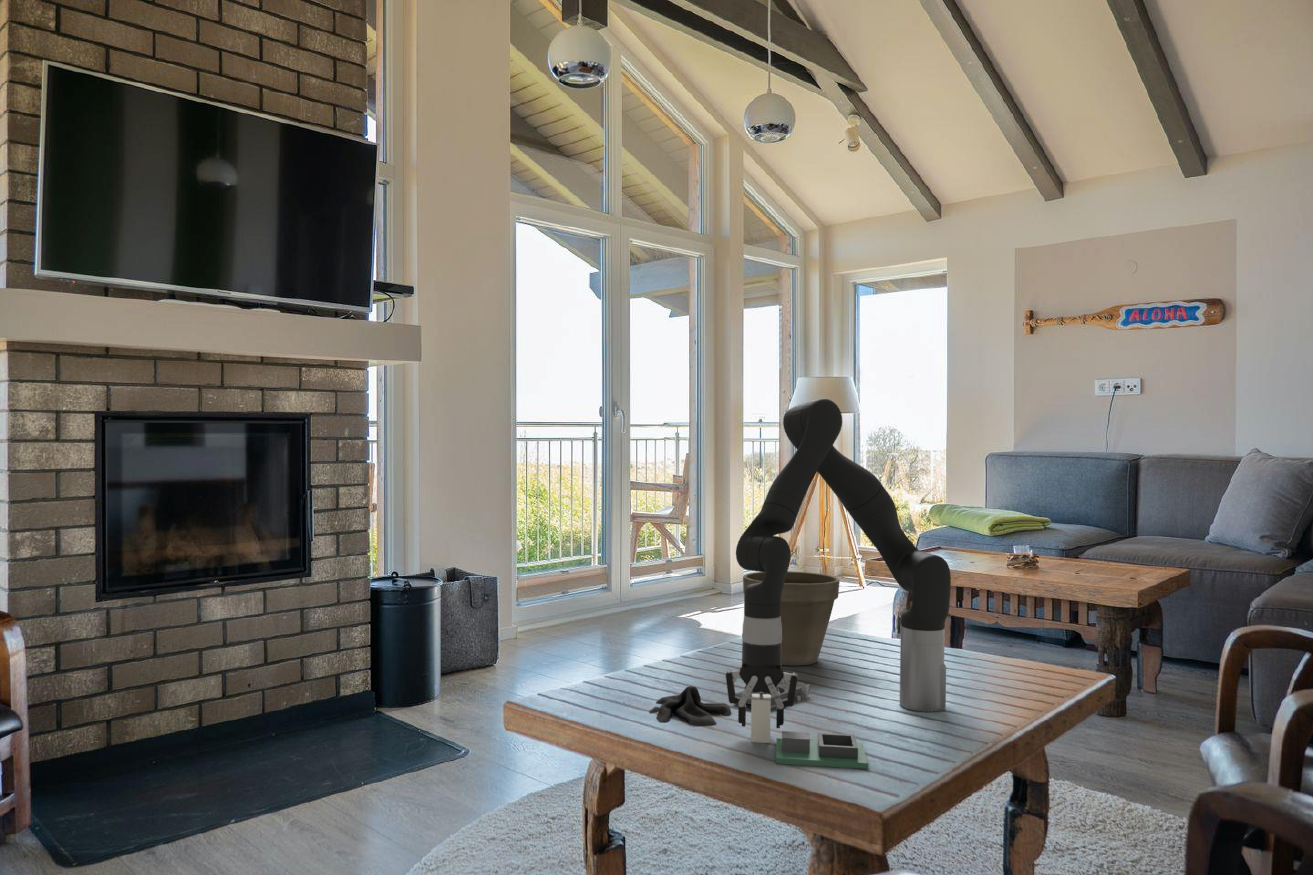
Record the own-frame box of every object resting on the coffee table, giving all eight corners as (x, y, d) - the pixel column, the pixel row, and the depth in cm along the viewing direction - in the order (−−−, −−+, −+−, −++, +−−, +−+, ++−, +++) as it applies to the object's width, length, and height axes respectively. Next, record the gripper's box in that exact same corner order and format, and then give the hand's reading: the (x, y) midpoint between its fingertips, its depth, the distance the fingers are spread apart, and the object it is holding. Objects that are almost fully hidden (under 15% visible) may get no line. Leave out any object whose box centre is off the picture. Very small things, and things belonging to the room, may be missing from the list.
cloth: (669, 696, 213) (669, 669, 213) (746, 709, 204) (746, 680, 204) (619, 723, 193) (620, 692, 193) (702, 737, 185) (703, 706, 185)
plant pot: (784, 644, 265) (785, 566, 265) (857, 660, 247) (858, 577, 247) (722, 657, 248) (723, 574, 248) (796, 676, 230) (797, 587, 230)
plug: (770, 735, 185) (770, 690, 185) (770, 742, 180) (770, 696, 180) (751, 734, 185) (752, 689, 185) (750, 741, 181) (751, 695, 181)
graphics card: (767, 674, 220) (810, 682, 212) (767, 690, 220) (810, 699, 212) (720, 688, 208) (765, 698, 200) (720, 706, 208) (765, 716, 200)
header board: (862, 748, 178) (862, 729, 178) (867, 768, 167) (868, 748, 167) (776, 743, 180) (776, 725, 180) (775, 763, 169) (776, 743, 169)
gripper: (799, 636, 186) (798, 722, 186) (725, 633, 187) (724, 718, 188) (800, 644, 178) (798, 734, 178) (723, 641, 180) (722, 730, 180)
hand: (760, 725), depth 183 cm, fingers open, 6 cm apart
